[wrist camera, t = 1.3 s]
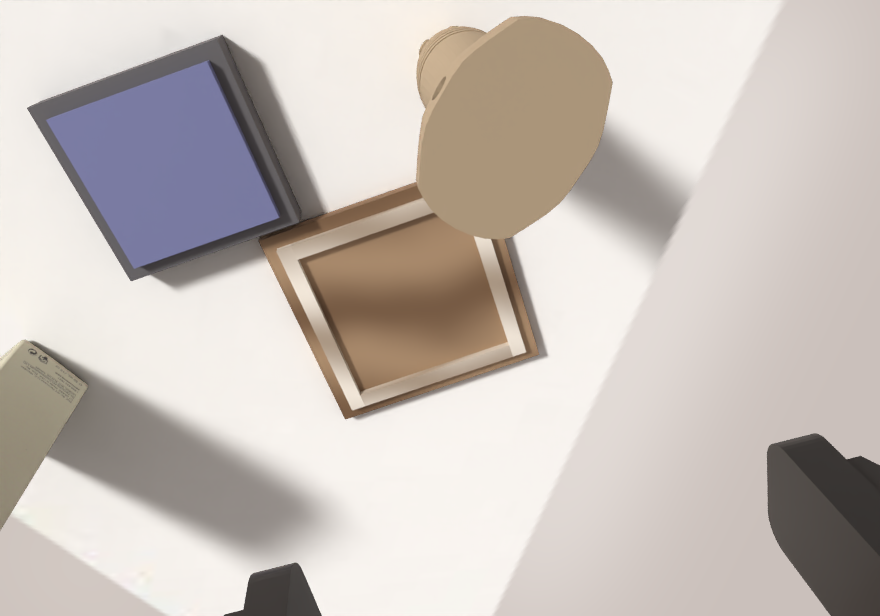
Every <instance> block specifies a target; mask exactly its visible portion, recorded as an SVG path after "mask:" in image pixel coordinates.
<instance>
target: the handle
mask: <svg viewBox="0 0 880 616" xmlns="http://www.w3.org/2000/svg"><path fill="white" fill-rule="evenodd" d="M612 83H613V82H612V79H611V76H610V73H609V70H608V68H607V66H606V64H605V62H604V60H603V58H602V57H601V56H600V54H599V53H598V52H597V51H596V50H595V48H594V47H593V46H592V45H591V44H590V43H589V42H587V41H586V40H585V39H584V38H583V37H581V36H580V35H579V34H577V33H576V32H574V31H572V30H570V29H569V28H567V27H565V26H563V25H561V24H558V23H555V22H552V21H549V20H546V19H543V18H540V17H529V16H520V17H510V18H509V19H507V20H505V21H504V22H502V23H501V24H499V25H498V26H496V27H495V28H494V29H492V30H491V31H489V32H488V33H486V32H484V31H482V30H479V29H476V28H471V27H463V26H461V27H458V26H450V27H449V28H447V29H445V30H442V31H440V32H439V33H437V34H435V35H434V36H433V37H432V38H431V39H430V40H425V41H424V42H423V44H422V45H421V48H420V50H419V59H418V64H417V85H418V91H419V94H420V97H421V100H422V102H423V104H424V106H425V108H426V110H425V112H424V114H423V117H422V123H421V130H420V136H419V146H418V158H417V174H416V181H417V186H418V189H419V191H420V193H421V195H422V197H423V199H424V200H425V202H426V203H427V205H428V206H429V208H430V209H431V210H432V211H433V212H434V213H435V214H436V215H437V216H438V217H439V218H440V219H442V220H443V221H444V222H446V223H447V224H449V225H451V226H452V227H454V228H455V229H457V230H460V231H462V232H464V233H467V234H469V235H472V236H476V237H480V238H484V239H506V238H511V237H512V236H514V235H515V234H517V233H518V232H520V231H522V230H523V229H525V228H526V227H528V226H529V225H531V224H533V223H534V222H536V221H537V220H539V219H540V218H542V217H543V216H545V215H546V214H547V213H549V212H550V211H551V210H552V209H553V208H555V207H556V206H557V205H558V204H559V203H560V202H561V201H562V200H563V199H564V197H565V196H566V195H567V194H568V192H569V191H570V190H571V188H572V187H573V186H574V184H575V183H576V181H577V180H578V178H579V177H580V175H581V174H582V172H583V171H584V169H585V168H586V166H587V165H588V163H589V162H590V160H591V158H592V157H593V155H594V153H595V151H596V149H597V147H598V145H599V142H600V139H601V136H602V133H603V129H604V124H605V119H606V115H607V110H608V105H609V99H610V94H611V88H612Z"/></svg>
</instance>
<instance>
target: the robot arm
mask: <svg viewBox="0 0 880 616" xmlns="http://www.w3.org/2000/svg"><path fill="white" fill-rule="evenodd" d="M767 477H768V478H767V479H768V480H767V481H768V516H769V521H770V525H771V528H772V531H773V534H774V536H775V538H776V540H777V542H778V544H779V546H780V548H781V549H782V551H783V552H784V553H785V555H786V556H787V557H788V559H789V560H790V562H791V563H792V564H793V566H794V567H795V568H796V570H797V571H798V572H799V574H800V575H801V576H802V578H803V579H804V580H805V582H806V583H807V584H808V586H809V587H810V588H811V590H812V591H813V592H814V594H815V595H816V596H817V598H818V599H819V600H820V602H821V603H822V604H823V606H824V607H825V608H826V610H827V611H828V612H829V614H830V615H831V616H880V465H878V464H876V463H874V462H871V461H870V460H868V459H866V458H864V457H862V456H859V457H855V458H851V459H847V460H846V459H845V458H844V457H843V456H842V455H841V454H840V453H839V452H838V451H837V450H836V449H835V448H834V447H833V446H832V445H831V444H830V443H829V442H828V441H827V440H826V439H825V438H824V437H822V436H821V435H819V434H810V435H807V436H802V437H799V438H794V439H790V440H787V441H783V442H779V443H775V444H771V445H770V446H769V448H768V451H767ZM224 616H322V615H321V613H320V611H319V608H318V606H317V604H316V601H315V599H314V597H313V594H312V592H311V590H310V587H309V585H308V583H307V580H306V578H305V576H304V573H303V571H302V569H301V567H300V566H299V564H298V563H292V564H288V565H284V566H280V567H276V568H272V569H268V570H264V571H260V572H256V573H253V574H252V575H251V576H250V578H249V582H248V587H247V592H246V598H245V604H244V610H241V611H237V612H233V613H229V614H225V615H224Z"/></svg>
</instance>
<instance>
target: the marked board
mask: <svg viewBox="0 0 880 616" xmlns="http://www.w3.org/2000/svg"><path fill="white" fill-rule="evenodd" d="M259 243H260V245H261V247H262V249H263V251H264V253H265V255H266V257H267V259H268V261H269V264H270V266H271V268H272V270H273V272H274V274H275V276H276V278H277V280H278V282H279V284H280V286H281V288H282V290H283V292H284V294H285V296H286V298H287V301H288V303H289V305H290V307H291V309H292V311H293V313H294V315H295V317H296V319H297V321H298V323H299V325H300V327H301V329H302V331H303V333H304V335H305V338H306V340H307V342H308V344H309V346H310V348H311V350H312V352H313V354H314V356H315V358H316V360H317V362H318V364H319V366H320V368H321V370H322V373H323V375H324V377H325V379H326V381H327V383H328V385H329V387H330V389H331V391H332V393H333V395H334V397H335V399H336V401H337V403H338V405H339V407H340V410H341V412H342V414H343V416H344V418H345V419H348V418H351V417H354V416H357V415H360V414H363V413H366V412H369V411H372V410H375V409H378V408H381V407H384V406H387V405H390V404H393V403H396V402H399V401H402V400H405V399H408V398H411V397H414V396H417V395H420V394H423V393H426V392H429V391H432V390H435V389H438V388H441V387H444V386H447V385H450V384H453V383H456V382H459V381H462V380H465V379H468V378H471V377H474V376H477V375H480V374H483V373H486V372H489V371H492V370H495V369H498V368H501V367H504V366H507V365H510V364H513V363H516V362H519V361H522V360H524V359H527V358H530V357H533V356H536V355H539V352H538V349H537V346H536V342H535V339H534V336H533V332H532V329H531V326H530V322H529V319H528V316H527V312H526V309H525V306H524V302H523V299H522V296H521V293H520V289H519V286H518V283H517V279H516V276H515V273H514V269H513V266H512V263H511V259H510V256H509V253H508V249H507V246H506V243H505V239H484V238H480V237H476V236H472V235H469V234H467V233H464V232H462V231H460V230H457V229H455V228H454V227H452V226H451V225H449V224H447V223H446V222H444V221H443V220H442V219H440V218H439V217H438V216H437V215H436V214H435V213H434V212H433V211H432V210H431V209H430V208H429V206H428V205H427V203H426V202H425V200H424V199H423V197H422V195H421V193H420V191H419V189H418V186H417V182H415V183H412V184H409V185H407V186H404V187H401V188H398V189H395V190H392V191H389V192H387V193H384V194H381V195H378V196H375V197H372V198H369V199H367V200H364V201H361V202H358V203H355V204H352V205H349V206H347V207H344V208H341V209H338V210H335V211H332V212H329V213H327V214H324V215H321V216H318V217H315V218H312V219H309V220H307V221H304V222H301V223H298V224H295V225H292V226H289V227H287V228H284V229H281V230H278V231H275V232H272V233H269V234H267V235H264V236H261V237H260V238H259Z"/></svg>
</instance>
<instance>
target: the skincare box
mask: <svg viewBox="0 0 880 616" xmlns="http://www.w3.org/2000/svg"><path fill="white" fill-rule="evenodd" d="M87 388H88V385H87V384H86V383H84V382H83V381H82V380H80V379H79V378H78V377H77V376H75V375H74V374H73V373H71V372H70V371H69V370H67V369H66V368H65V367H63V366H62V365H61V364H59V363H58V362H57V361H55V360H54V359H53V358H51V357H50V356H49V355H47V354H46V353H44V352H43V351H41V350H40V349H39V348H37V347H36V346H34V345H33V344H31V343H30V342H28V341H27V340H22V341H20V342H19V343H18V344H17V345H15V346H14V347H13V348H12V349H11V350H9V351H8V352H7V353H6V354H5V355H3V356H2V357H1V358H0V530H1V529H2V527H3V525H4V524H5V522H6V520H7V519H8V517H9V516H10V514H11V512H12V511H13V509H14V507H15V506H16V504H17V502H18V501H19V499H20V498H21V496H22V494H23V493H24V491H25V489H26V488H27V486H28V484H29V483H30V481H31V479H32V478H33V476H34V475H35V473H36V471H37V470H38V468H39V466H40V465H41V463H42V461H43V460H44V458H45V456H46V455H47V453H48V452H49V450H50V448H51V447H52V445H53V443H54V442H55V440H56V439H57V437H58V435H59V434H60V432H61V430H62V429H63V427H64V425H65V424H66V422H67V421H68V419H69V417H70V416H71V414H72V413H73V411H74V409H75V408H76V406H77V404H78V403H79V401H80V399H81V398H82V396H83V395H84V393H85V391H86V390H87Z"/></svg>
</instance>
